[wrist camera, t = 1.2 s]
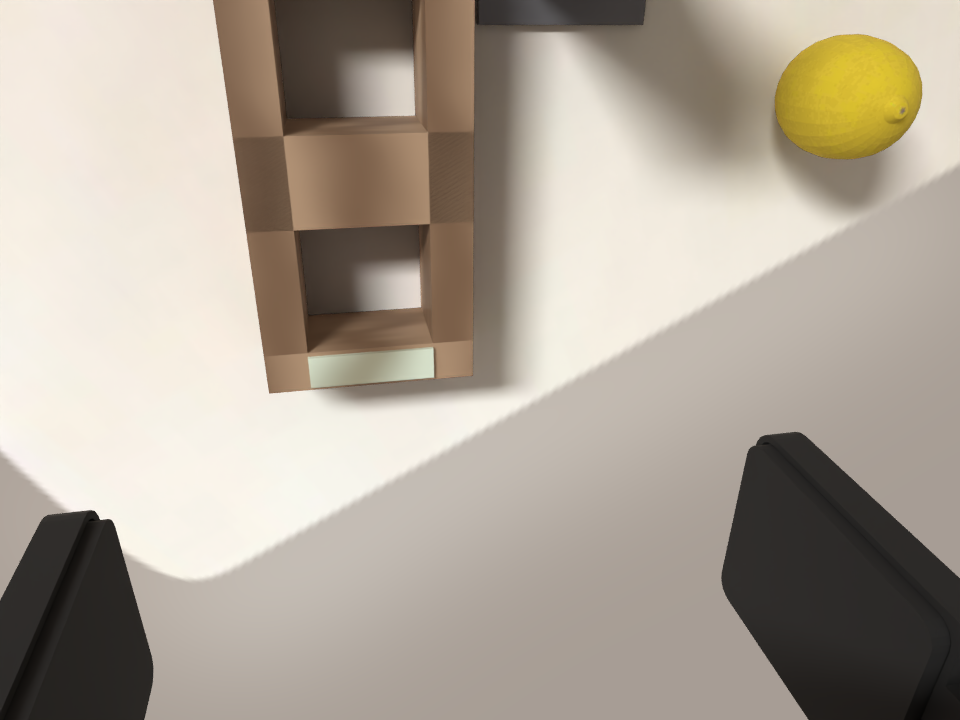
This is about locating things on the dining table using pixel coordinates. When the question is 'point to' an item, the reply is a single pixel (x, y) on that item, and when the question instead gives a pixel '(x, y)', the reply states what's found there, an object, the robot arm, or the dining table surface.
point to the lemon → (848, 96)
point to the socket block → (357, 202)
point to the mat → (560, 12)
